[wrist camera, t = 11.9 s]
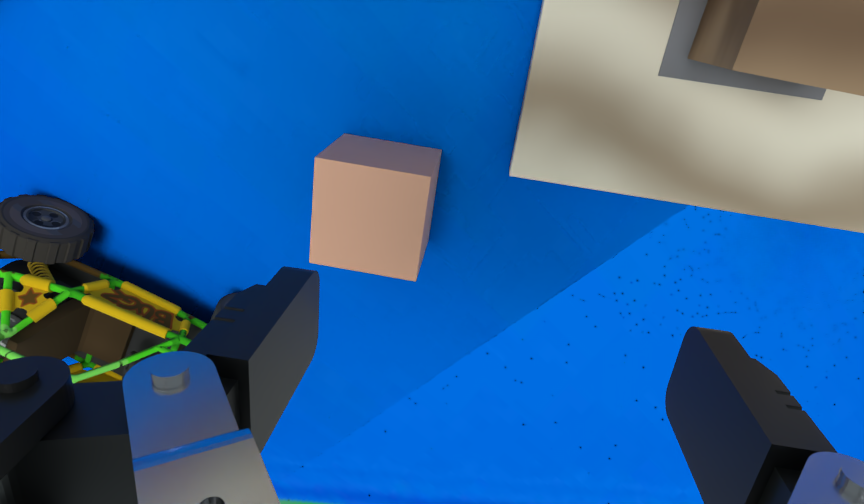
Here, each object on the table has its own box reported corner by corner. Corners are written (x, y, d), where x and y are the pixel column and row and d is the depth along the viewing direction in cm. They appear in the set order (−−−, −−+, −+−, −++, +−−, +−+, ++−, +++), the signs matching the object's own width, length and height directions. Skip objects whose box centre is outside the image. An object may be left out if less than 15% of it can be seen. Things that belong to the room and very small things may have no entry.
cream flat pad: (602, -304, 20) (608, -320, 19) (1116, -243, 19) (1150, -256, 18) (509, 170, 28) (509, 176, 27) (877, 229, 27) (892, 238, 26)
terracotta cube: (344, 133, 28) (314, 157, 23) (441, 149, 28) (430, 176, 23) (337, 224, 30) (309, 262, 25) (428, 239, 30) (415, 281, 25)
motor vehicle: (234, 428, 37) (152, 558, 28) (-18, 304, 35) (-189, 403, 26) (294, 313, 33) (219, 423, 24) (11, 165, 31) (-182, 227, 22)
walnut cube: (734, -75, 22) (796, -97, 17) (862, -50, 21) (959, -66, 17) (687, 58, 24) (732, 70, 19) (803, 81, 24) (876, 98, 19)
